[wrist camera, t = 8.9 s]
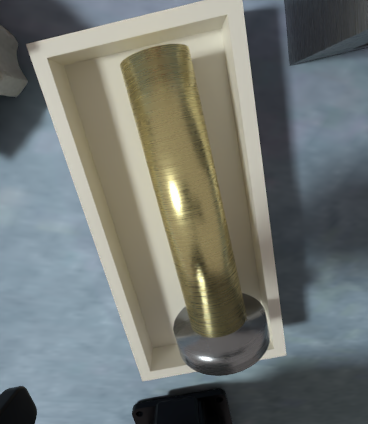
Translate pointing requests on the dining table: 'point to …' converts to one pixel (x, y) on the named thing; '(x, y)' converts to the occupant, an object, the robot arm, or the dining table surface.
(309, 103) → the dining table surface
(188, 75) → the pin
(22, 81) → the egg carton
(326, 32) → the block
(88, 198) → the tray
